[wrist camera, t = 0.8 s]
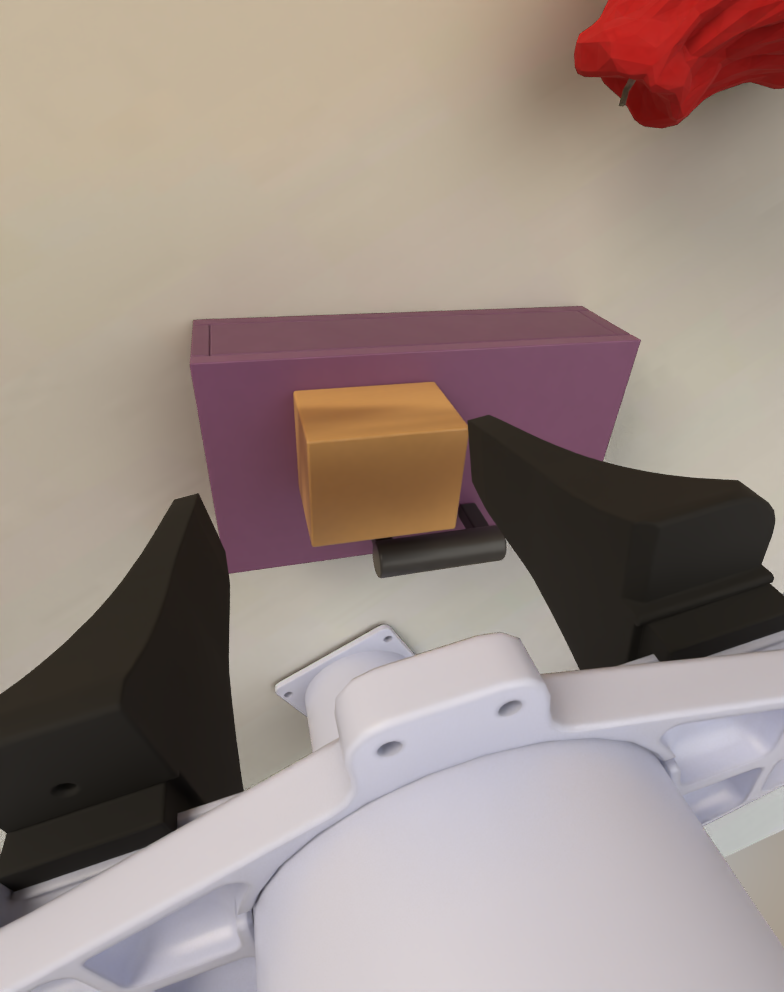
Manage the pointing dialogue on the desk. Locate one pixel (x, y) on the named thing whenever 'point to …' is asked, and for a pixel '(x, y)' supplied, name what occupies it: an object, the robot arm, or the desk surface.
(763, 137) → the desk surface
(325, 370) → the lid
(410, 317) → the box
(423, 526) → the block
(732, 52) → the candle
